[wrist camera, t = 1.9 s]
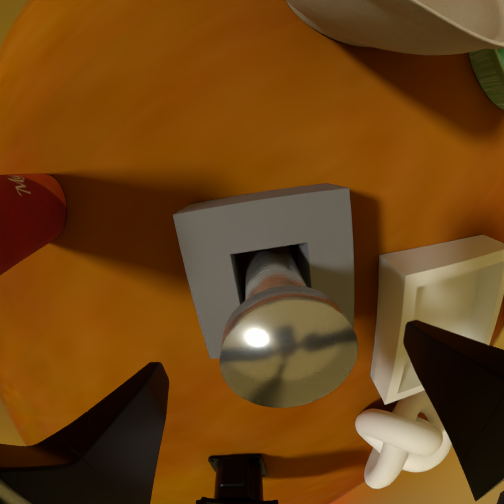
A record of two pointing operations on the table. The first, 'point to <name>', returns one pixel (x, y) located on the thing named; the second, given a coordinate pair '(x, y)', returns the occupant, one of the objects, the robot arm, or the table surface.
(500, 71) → the ramekin
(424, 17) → the planter bowl
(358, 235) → the table surface
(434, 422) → the white knot sculpture
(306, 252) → the block
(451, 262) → the tray
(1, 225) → the paper cup
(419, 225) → the table surface
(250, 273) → the pin
